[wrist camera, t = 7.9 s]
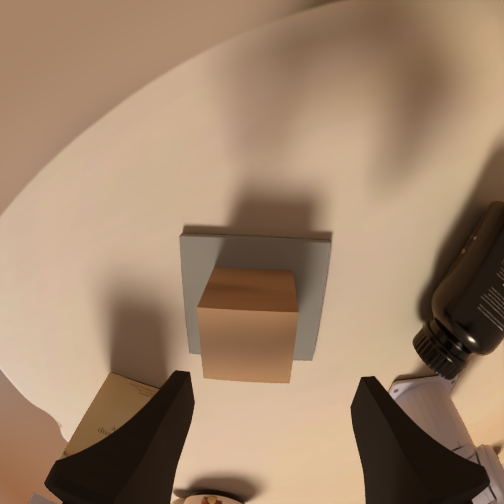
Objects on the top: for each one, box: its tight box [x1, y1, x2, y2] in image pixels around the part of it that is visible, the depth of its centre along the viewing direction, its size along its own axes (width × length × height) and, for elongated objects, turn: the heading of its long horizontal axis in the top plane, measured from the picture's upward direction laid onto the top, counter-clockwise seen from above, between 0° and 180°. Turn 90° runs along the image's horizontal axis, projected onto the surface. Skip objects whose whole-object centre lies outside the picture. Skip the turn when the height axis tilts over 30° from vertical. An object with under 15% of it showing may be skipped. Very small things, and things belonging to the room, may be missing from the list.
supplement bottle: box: [413, 201, 504, 380], centre depth 16 cm, size 7×7×12 cm
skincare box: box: [60, 373, 159, 459], centre depth 20 cm, size 6×4×12 cm
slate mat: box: [179, 233, 331, 361], centre depth 20 cm, size 10×10×1 cm
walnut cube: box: [197, 267, 299, 383], centre depth 17 cm, size 5×5×5 cm
